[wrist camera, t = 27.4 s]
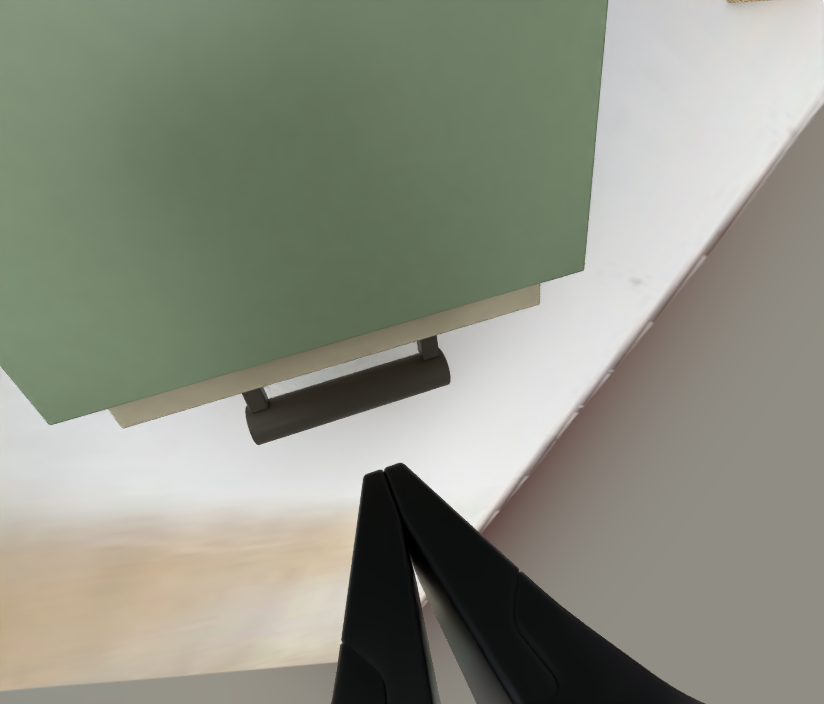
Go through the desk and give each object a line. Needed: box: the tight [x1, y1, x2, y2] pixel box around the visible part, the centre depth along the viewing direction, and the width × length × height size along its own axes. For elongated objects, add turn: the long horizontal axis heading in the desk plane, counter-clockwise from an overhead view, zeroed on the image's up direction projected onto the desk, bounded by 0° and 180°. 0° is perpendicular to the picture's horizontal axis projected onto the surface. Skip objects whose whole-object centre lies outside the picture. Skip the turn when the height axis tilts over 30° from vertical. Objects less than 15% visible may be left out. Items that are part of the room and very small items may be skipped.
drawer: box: [108, 283, 540, 445], centre depth 12 cm, size 17×10×8 cm, turn 8°
